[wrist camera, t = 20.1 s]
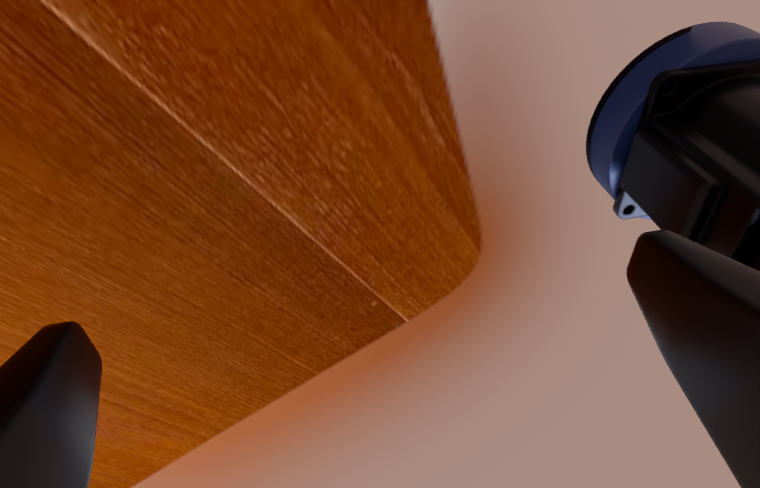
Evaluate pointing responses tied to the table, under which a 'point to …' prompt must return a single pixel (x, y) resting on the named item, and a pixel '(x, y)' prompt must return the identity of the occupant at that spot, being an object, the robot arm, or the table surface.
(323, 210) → the table surface
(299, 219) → the table surface
